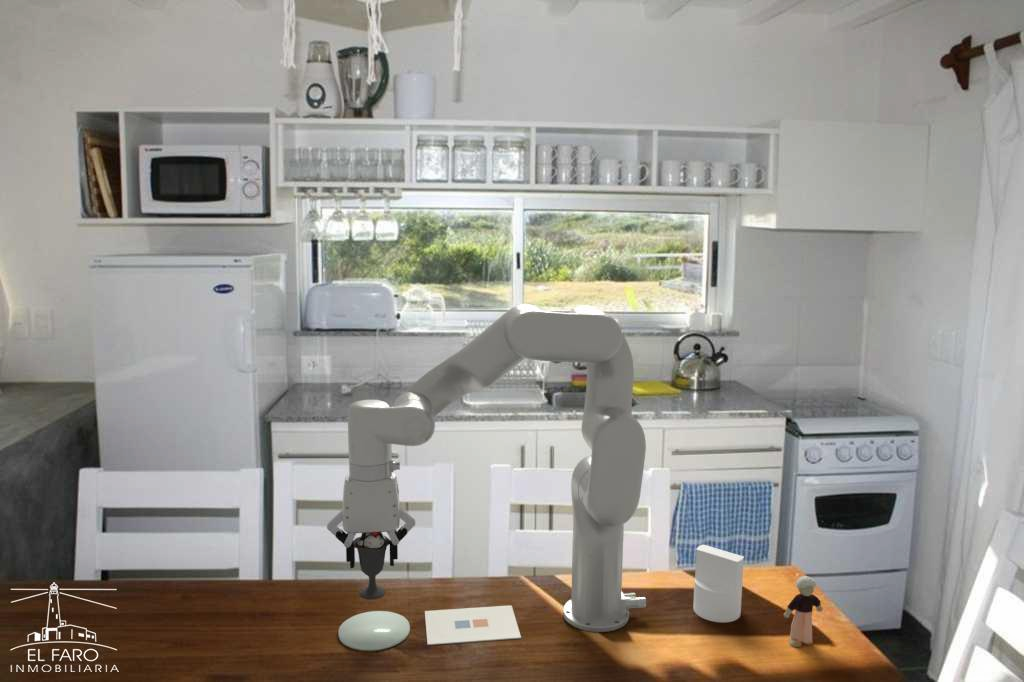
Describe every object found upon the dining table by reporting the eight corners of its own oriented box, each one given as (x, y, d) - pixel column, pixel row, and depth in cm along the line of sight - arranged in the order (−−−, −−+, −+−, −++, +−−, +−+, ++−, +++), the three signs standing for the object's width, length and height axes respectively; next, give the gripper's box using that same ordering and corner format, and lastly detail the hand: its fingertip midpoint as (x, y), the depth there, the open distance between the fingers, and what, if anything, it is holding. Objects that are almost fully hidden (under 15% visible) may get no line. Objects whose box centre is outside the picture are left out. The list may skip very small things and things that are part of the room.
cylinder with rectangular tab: (748, 609, 160) (751, 551, 158) (727, 627, 153) (731, 567, 151) (706, 595, 165) (709, 539, 163) (684, 611, 159) (687, 553, 157)
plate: (409, 611, 158) (409, 608, 158) (410, 647, 145) (410, 644, 145) (340, 616, 156) (340, 613, 156) (336, 653, 143) (336, 650, 143)
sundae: (383, 604, 145) (382, 524, 143) (348, 599, 147) (346, 520, 144) (396, 587, 152) (395, 510, 149) (362, 583, 153) (361, 507, 151)
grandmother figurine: (795, 652, 145) (799, 585, 142) (778, 641, 148) (783, 576, 146) (825, 641, 148) (831, 576, 146) (809, 631, 151) (814, 567, 149)
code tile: (511, 606, 160) (511, 605, 160) (521, 638, 149) (521, 637, 148) (424, 612, 158) (424, 610, 158) (427, 645, 146) (427, 644, 146)
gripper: (418, 461, 150) (419, 552, 153) (322, 464, 148) (325, 557, 151) (420, 474, 143) (420, 570, 146) (319, 478, 140) (321, 576, 143)
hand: (372, 563), depth 148 cm, fingers closed on sundae, 6 cm apart
